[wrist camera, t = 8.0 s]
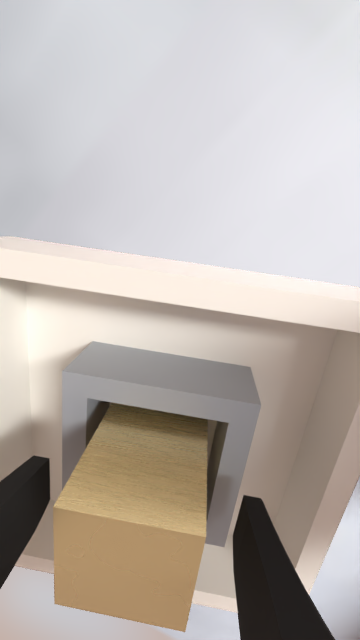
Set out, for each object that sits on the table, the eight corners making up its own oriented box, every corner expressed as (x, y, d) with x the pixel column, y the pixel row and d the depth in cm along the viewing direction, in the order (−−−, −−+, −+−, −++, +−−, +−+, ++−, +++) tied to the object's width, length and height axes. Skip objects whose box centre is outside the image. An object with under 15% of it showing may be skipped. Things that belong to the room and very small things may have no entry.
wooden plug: (208, 388, 14) (206, 536, 7) (196, 454, 15) (185, 631, 8) (127, 375, 14) (52, 506, 7) (121, 441, 15) (54, 603, 9)
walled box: (368, 288, 12) (429, 311, 9) (279, 546, 17) (296, 625, 14) (11, 236, 13) (-59, 239, 10) (25, 496, 18) (-18, 558, 15)
